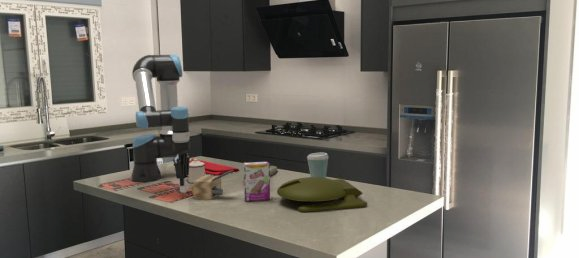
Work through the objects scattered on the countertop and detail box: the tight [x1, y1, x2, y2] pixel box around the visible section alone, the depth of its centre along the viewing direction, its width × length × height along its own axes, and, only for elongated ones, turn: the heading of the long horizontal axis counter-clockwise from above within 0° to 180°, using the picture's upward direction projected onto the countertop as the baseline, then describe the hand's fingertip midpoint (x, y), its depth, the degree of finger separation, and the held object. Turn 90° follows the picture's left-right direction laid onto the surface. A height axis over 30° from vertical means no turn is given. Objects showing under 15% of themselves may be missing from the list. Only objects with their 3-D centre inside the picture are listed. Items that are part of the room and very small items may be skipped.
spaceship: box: [276, 176, 368, 213], centre depth 210 cm, size 35×31×10 cm
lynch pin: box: [191, 185, 224, 197], centre depth 219 cm, size 13×5×5 cm, turn 75°
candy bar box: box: [242, 161, 271, 203], centre depth 213 cm, size 11×5×16 cm, turn 102°
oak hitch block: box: [192, 174, 222, 201], centre depth 221 cm, size 8×12×8 cm, turn 165°
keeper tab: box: [212, 170, 234, 181], centre depth 217 cm, size 9×6×1 cm
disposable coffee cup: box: [306, 151, 329, 178], centre depth 239 cm, size 11×11×15 cm
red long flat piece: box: [173, 157, 240, 176], centre depth 279 cm, size 16×41×4 cm, turn 48°
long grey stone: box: [242, 165, 278, 184], centre depth 256 cm, size 35×5×10 cm
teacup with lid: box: [187, 158, 206, 184], centre depth 250 cm, size 12×9×12 cm
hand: (183, 192), depth 223 cm, fingers closed
